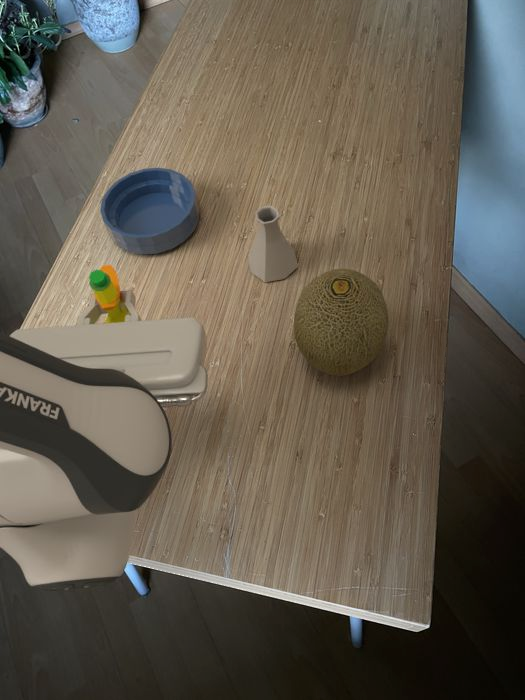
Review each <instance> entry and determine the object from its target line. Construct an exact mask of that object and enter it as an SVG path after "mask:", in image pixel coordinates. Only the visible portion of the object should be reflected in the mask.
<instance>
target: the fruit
mask: <svg viewBox="0 0 525 700" xmlns="http://www.w3.org/2000/svg"><path fill="white" fill-rule="evenodd" d="M299 295H300V296H299V297H298V299H297V302H296V306H295V311H294V317H293V333H294V340H295V341H296V344H297V347H298V349H299V352H300V353H301V354H302V356H303V358H304V359H305V360H306V361H307V362H308V364H309V365H310V366H311V367H313V368H314V369H316V370H318V371H320V372H322V373H324V374H326V375H331V376H335V377H341V376H342V377H344V376H348V375H351V374H354V373H356V372H358V371H360V370H361V369H364V368H365V367H366V366H368V365H369V364H370V363H371V362H373V360H375V359H376V357H378V355H379V354H380V352H381V351H382V349H383V346H384V344H385V340H386V337H387V334H388V328H389V324H390V323H389V310H388V307H387V303H386V300H385V297H384V295H383V292H382V290H381V289H380V287H379V286H378V285H377V283H376V282H374V280H372V279H371V278H370V277H369V276H368V275H366V274H364V273H362V272H361V271H358V270H354V269H350V268H335V269H331V270H328V271H325V272H323V273H321V274H319V275H317V276H315V277H314V278H312V279H311V281H310V282H309V283H308V284H307V285H305V287H304V289H303V290H302V292H301V293H300V294H299Z"/></svg>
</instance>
